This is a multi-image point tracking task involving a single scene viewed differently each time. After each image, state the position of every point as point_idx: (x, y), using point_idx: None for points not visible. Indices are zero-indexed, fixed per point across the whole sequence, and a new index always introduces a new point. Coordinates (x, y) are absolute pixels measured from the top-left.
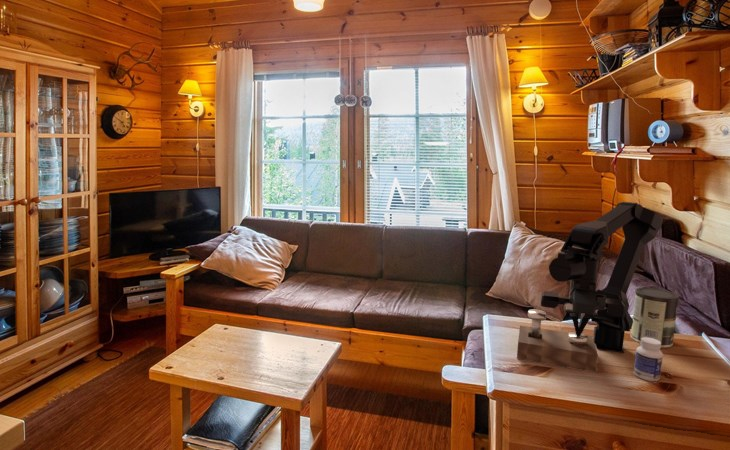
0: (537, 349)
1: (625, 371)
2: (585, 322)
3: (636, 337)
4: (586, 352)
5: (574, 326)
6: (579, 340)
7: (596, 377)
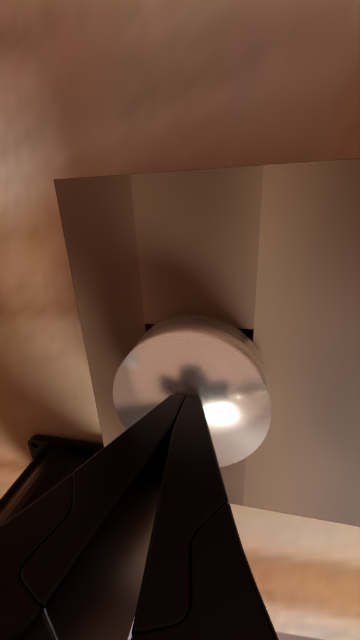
0: None
1: (7, 269)
2: (36, 522)
3: None
4: (135, 188)
5: (217, 470)
6: (179, 331)
7: (115, 112)
